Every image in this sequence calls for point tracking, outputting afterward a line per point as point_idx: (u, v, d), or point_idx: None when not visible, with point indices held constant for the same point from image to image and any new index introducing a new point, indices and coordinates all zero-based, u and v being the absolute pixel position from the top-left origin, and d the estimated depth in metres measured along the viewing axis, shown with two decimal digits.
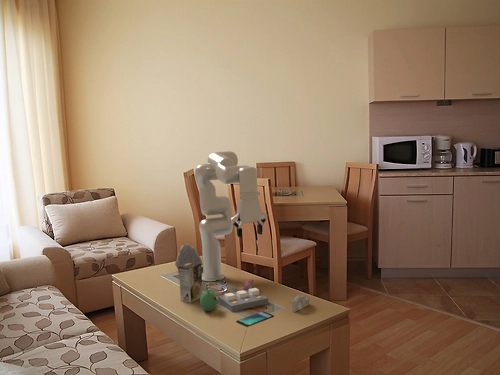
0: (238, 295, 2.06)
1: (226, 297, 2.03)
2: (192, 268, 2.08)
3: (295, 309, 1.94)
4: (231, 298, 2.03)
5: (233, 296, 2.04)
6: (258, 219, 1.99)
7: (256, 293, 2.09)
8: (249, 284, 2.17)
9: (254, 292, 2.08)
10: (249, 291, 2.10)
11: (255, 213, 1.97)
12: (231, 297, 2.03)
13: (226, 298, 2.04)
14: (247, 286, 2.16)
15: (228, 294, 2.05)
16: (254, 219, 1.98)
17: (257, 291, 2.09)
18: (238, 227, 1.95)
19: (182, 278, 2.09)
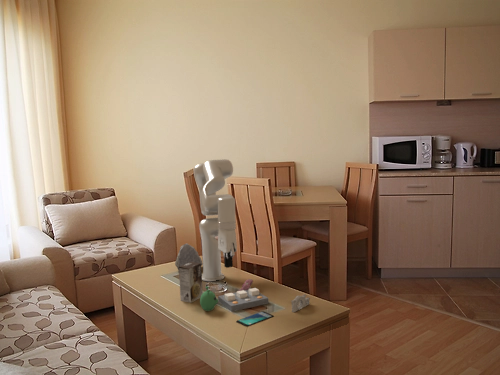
0: (238, 295, 2.06)
1: (226, 297, 2.03)
2: (192, 268, 2.08)
3: (295, 309, 1.94)
4: (231, 298, 2.03)
5: (233, 296, 2.04)
6: None
7: (256, 293, 2.09)
8: (248, 284, 2.17)
9: (254, 292, 2.08)
10: (249, 291, 2.10)
11: None
12: (231, 297, 2.03)
13: (226, 298, 2.04)
14: (246, 286, 2.16)
15: (228, 294, 2.05)
16: None
17: (257, 291, 2.09)
18: (232, 257, 2.02)
19: (182, 278, 2.09)
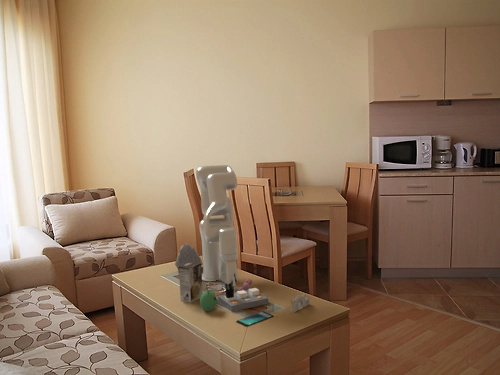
0: (238, 295, 2.06)
1: (226, 299, 2.03)
2: (192, 268, 2.08)
3: (295, 309, 1.94)
4: None
5: (233, 298, 2.04)
6: None
7: (256, 293, 2.09)
8: (248, 284, 2.17)
9: (254, 292, 2.08)
10: (249, 291, 2.10)
11: None
12: (231, 299, 2.03)
13: (226, 300, 2.04)
14: (246, 286, 2.16)
15: None
16: None
17: (257, 291, 2.09)
18: (233, 288, 2.03)
19: (182, 278, 2.09)
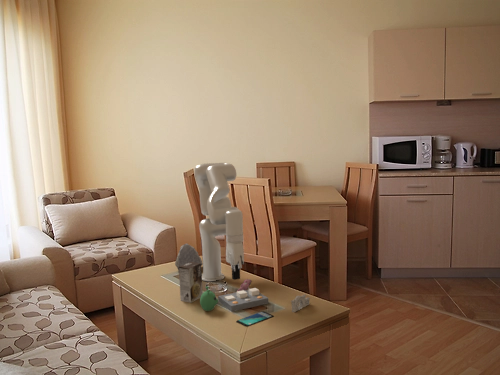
0: (238, 295, 2.06)
1: (226, 300, 2.03)
2: (192, 268, 2.08)
3: (295, 309, 1.94)
4: None
5: (233, 299, 2.04)
6: None
7: (256, 293, 2.09)
8: (247, 284, 2.17)
9: (254, 292, 2.08)
10: (249, 291, 2.10)
11: None
12: (231, 299, 2.03)
13: None
14: (245, 286, 2.16)
15: (228, 297, 2.05)
16: None
17: (257, 291, 2.09)
18: (239, 270, 2.04)
19: (182, 278, 2.09)
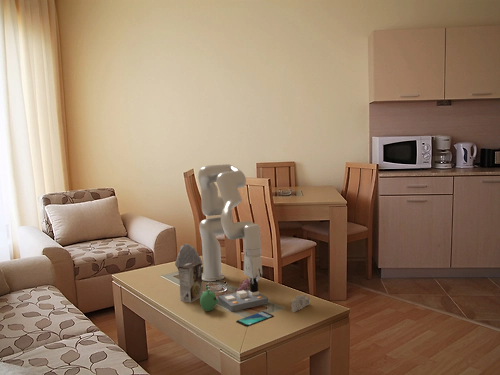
0: (238, 295, 2.06)
1: (226, 300, 2.03)
2: (192, 268, 2.08)
3: (295, 309, 1.94)
4: None
5: (233, 299, 2.04)
6: None
7: None
8: (246, 284, 2.17)
9: (254, 294, 2.08)
10: (249, 293, 2.10)
11: None
12: (231, 299, 2.03)
13: None
14: (244, 286, 2.16)
15: (228, 297, 2.05)
16: None
17: (257, 293, 2.09)
18: (257, 282, 2.09)
19: (182, 278, 2.09)
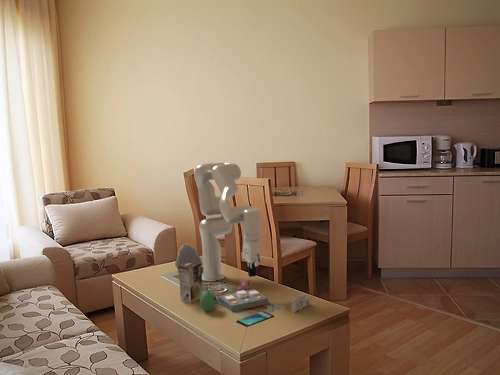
0: (238, 295, 2.06)
1: (226, 300, 2.03)
2: (192, 268, 2.08)
3: (295, 309, 1.94)
4: None
5: (233, 299, 2.04)
6: None
7: None
8: (246, 284, 2.17)
9: (254, 295, 2.08)
10: (249, 294, 2.10)
11: None
12: (231, 299, 2.03)
13: None
14: (244, 286, 2.16)
15: (228, 297, 2.05)
16: None
17: (257, 294, 2.09)
18: (256, 267, 2.09)
19: (182, 278, 2.09)
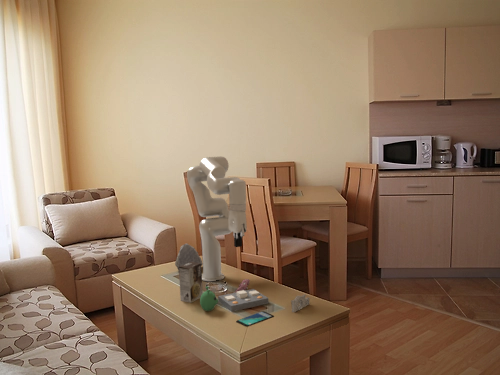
0: (238, 295, 2.06)
1: (226, 300, 2.03)
2: (192, 268, 2.08)
3: (295, 309, 1.94)
4: None
5: (233, 299, 2.04)
6: None
7: None
8: (245, 284, 2.17)
9: (254, 295, 2.08)
10: (249, 294, 2.10)
11: None
12: (231, 299, 2.03)
13: None
14: (243, 286, 2.16)
15: (228, 297, 2.05)
16: None
17: (257, 294, 2.09)
18: None
19: (182, 278, 2.09)
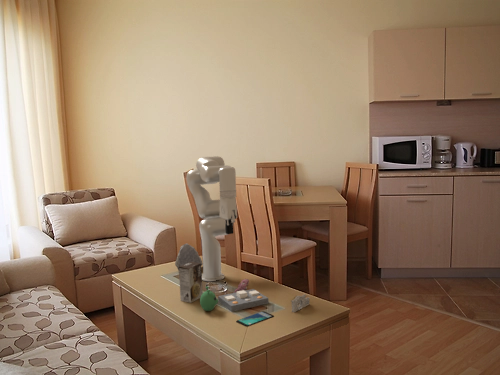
0: (238, 295, 2.06)
1: (226, 300, 2.03)
2: (192, 268, 2.08)
3: (295, 309, 1.94)
4: None
5: (233, 299, 2.04)
6: None
7: None
8: (245, 284, 2.17)
9: (254, 295, 2.08)
10: (249, 294, 2.10)
11: None
12: (231, 299, 2.03)
13: None
14: (243, 286, 2.16)
15: (228, 297, 2.05)
16: None
17: (257, 294, 2.09)
18: None
19: (182, 279, 2.09)
